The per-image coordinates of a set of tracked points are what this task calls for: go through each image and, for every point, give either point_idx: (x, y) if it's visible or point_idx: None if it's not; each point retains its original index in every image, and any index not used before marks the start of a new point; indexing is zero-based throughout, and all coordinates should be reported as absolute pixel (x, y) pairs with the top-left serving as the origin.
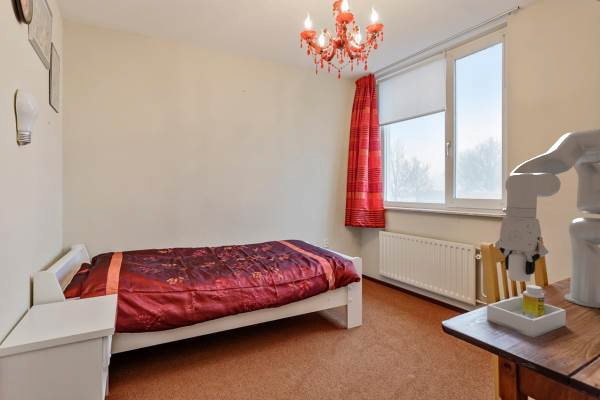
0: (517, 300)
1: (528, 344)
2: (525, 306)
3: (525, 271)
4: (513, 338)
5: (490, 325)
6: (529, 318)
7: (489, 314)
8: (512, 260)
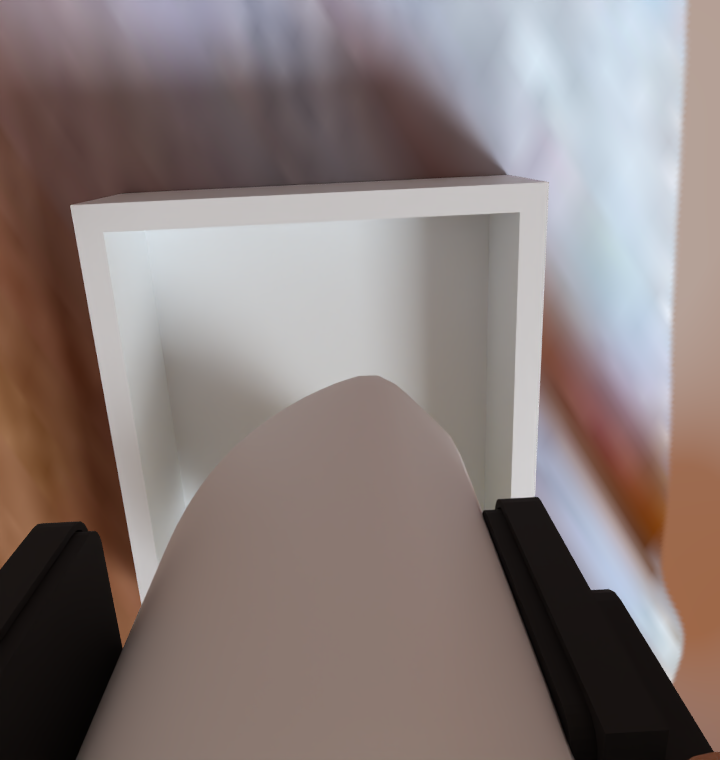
0: None
1: (52, 32)
2: None
3: (75, 554)
4: (170, 22)
5: (421, 89)
6: (123, 225)
7: (499, 179)
8: (344, 628)
